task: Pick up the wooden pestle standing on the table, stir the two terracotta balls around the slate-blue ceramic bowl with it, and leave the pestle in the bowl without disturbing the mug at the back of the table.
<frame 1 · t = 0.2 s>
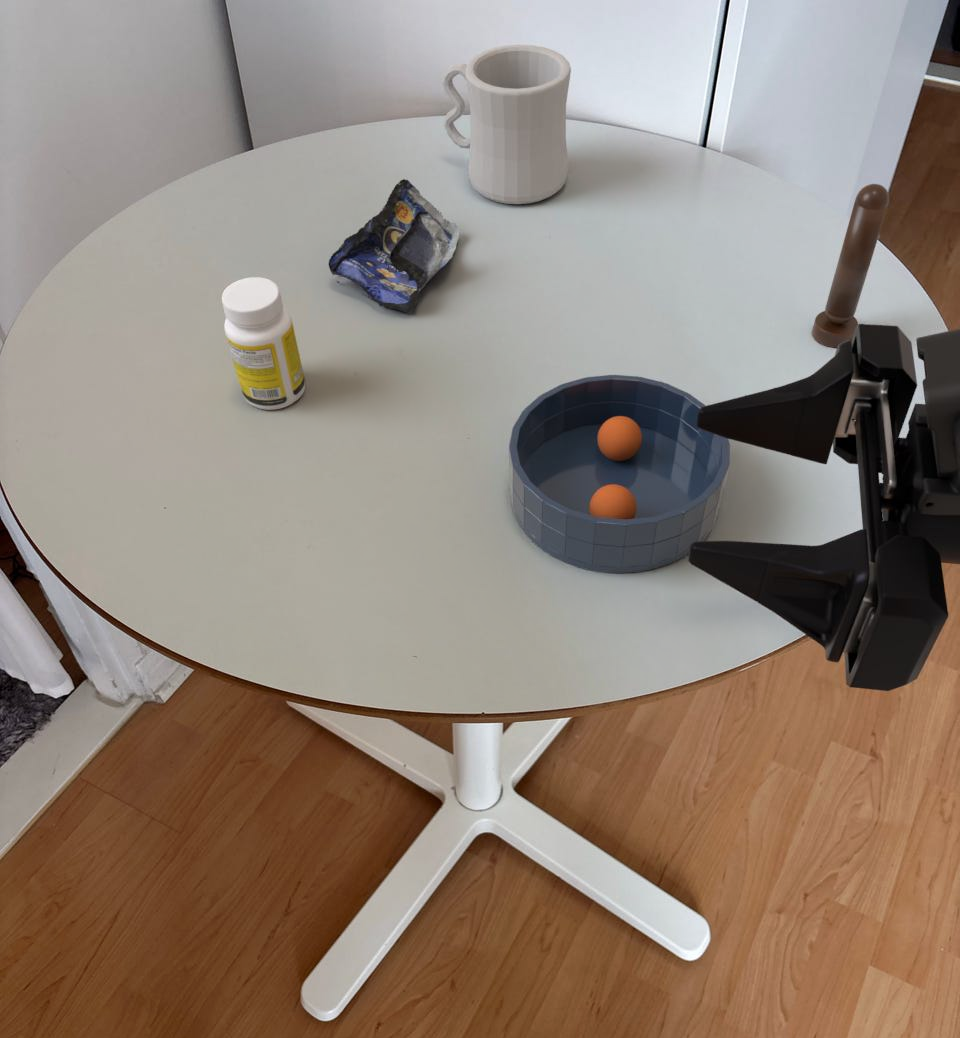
hand: (693, 481, 49), 15 cm above the table, tool horizontal, fingers open, 9 cm apart
bowl: (613, 495, 69), on the table
mug: (502, 179, 94), on the table
ball b: (619, 438, 69), point 2 cm above the table, touching bowl
ball a: (612, 508, 65), point 2 cm above the table, touching bowl
snack package: (406, 275, 85), on the table
wooden pestle: (832, 334, 79), on the table
supplement bottle: (274, 393, 77), on the table
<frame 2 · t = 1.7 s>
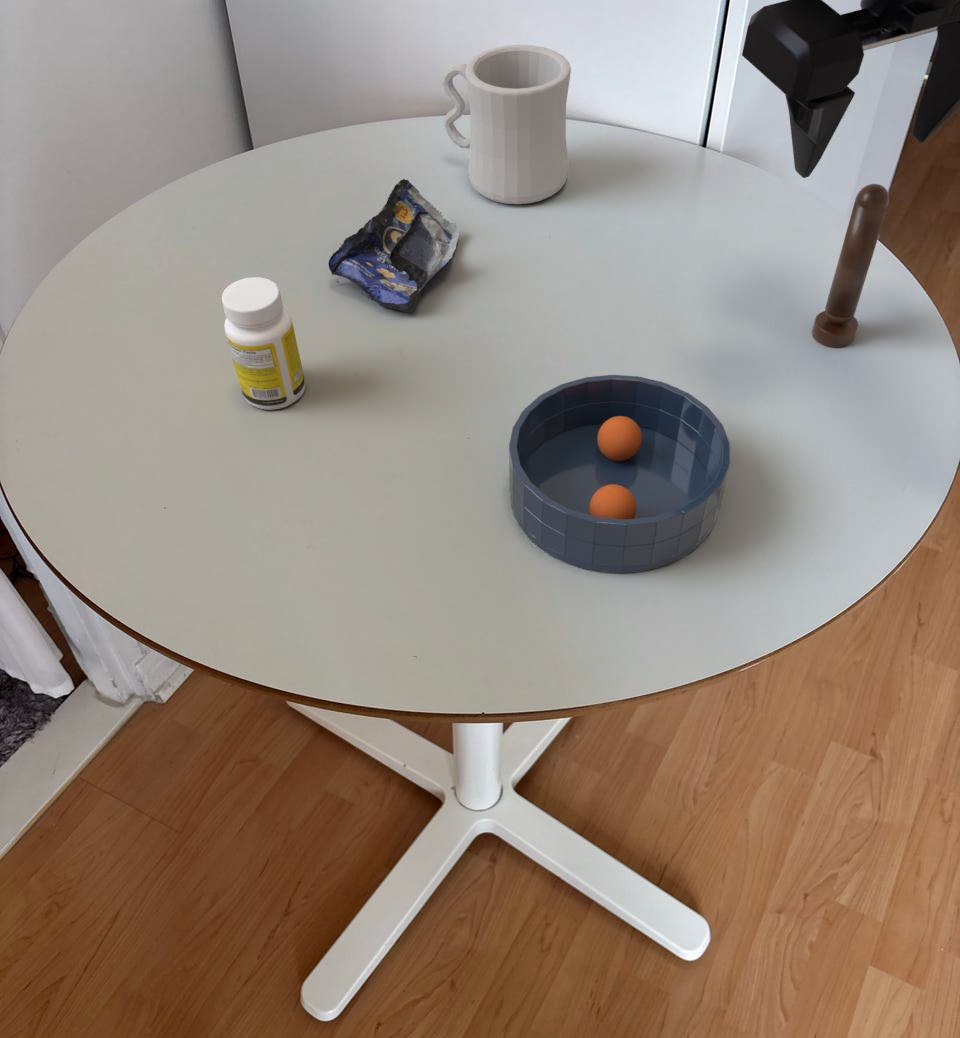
hand: (860, 156, 67), 15 cm above the table, tool pointing down, fingers open, 9 cm apart
nothing on the table moved.
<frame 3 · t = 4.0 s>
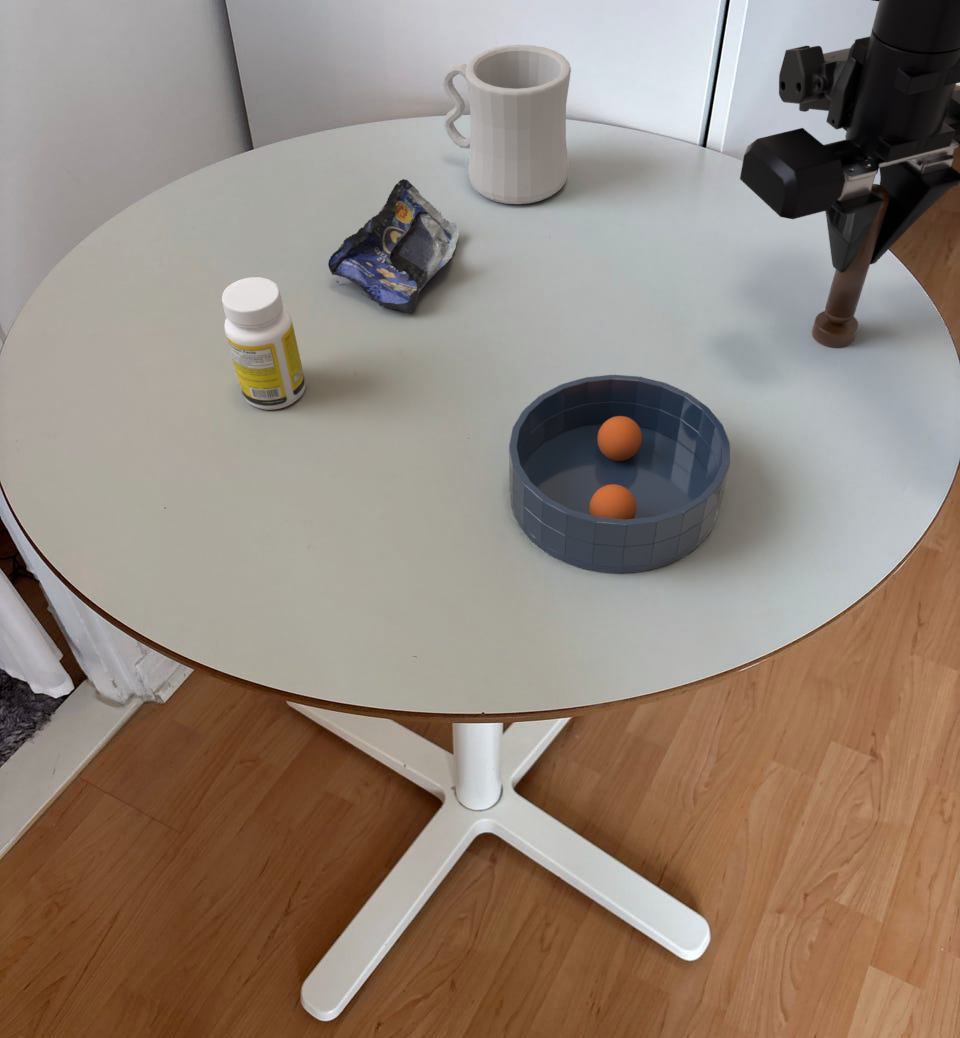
hand: (853, 265, 74), 6 cm above the table, tool pointing down, fingers closed on wooden pestle, 2 cm apart
wooden pestle: (832, 334, 79), on the table, touching gripper
everything else where it was.
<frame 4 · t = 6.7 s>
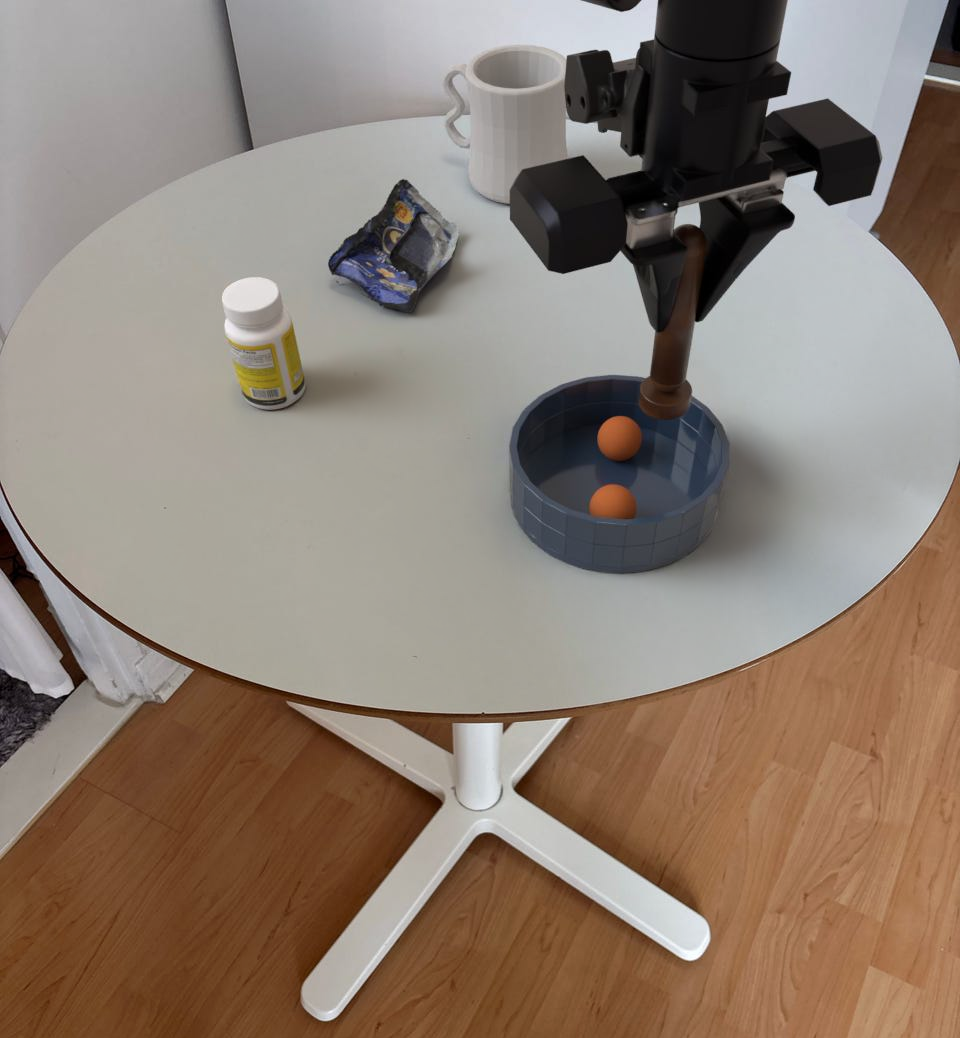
hand: (676, 323, 59), 13 cm above the table, tool pointing down, fingers closed on wooden pestle, 2 cm apart
wooden pestle: (664, 403, 64), point 7 cm above the table, touching gripper
everything else where it was.
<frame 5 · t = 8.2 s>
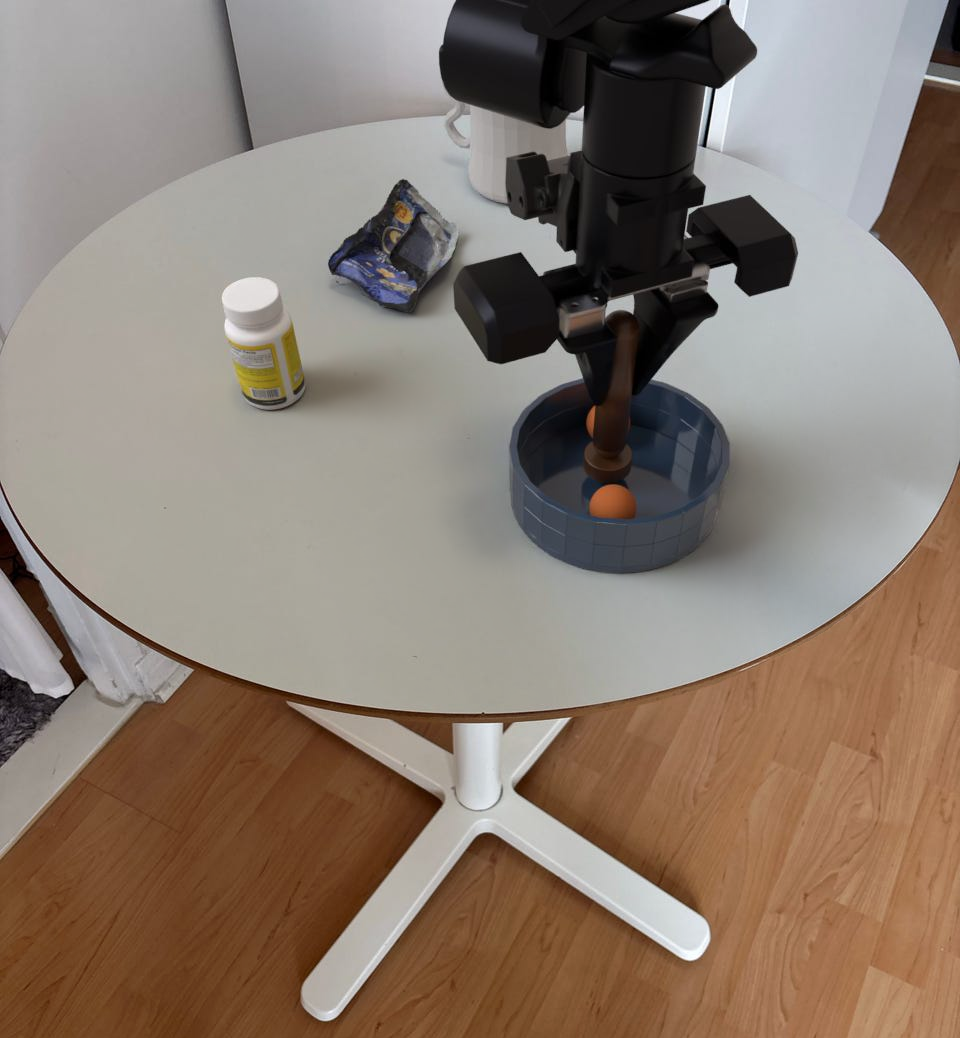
hand: (614, 396, 63), 8 cm above the table, tool pointing down, fingers closed on wooden pestle, 2 cm apart
ball b: (608, 422, 70), point 2 cm above the table, tilted 66°, touching bowl
wooden pestle: (607, 466, 68), point 2 cm above the table, touching gripper
everything else where it was.
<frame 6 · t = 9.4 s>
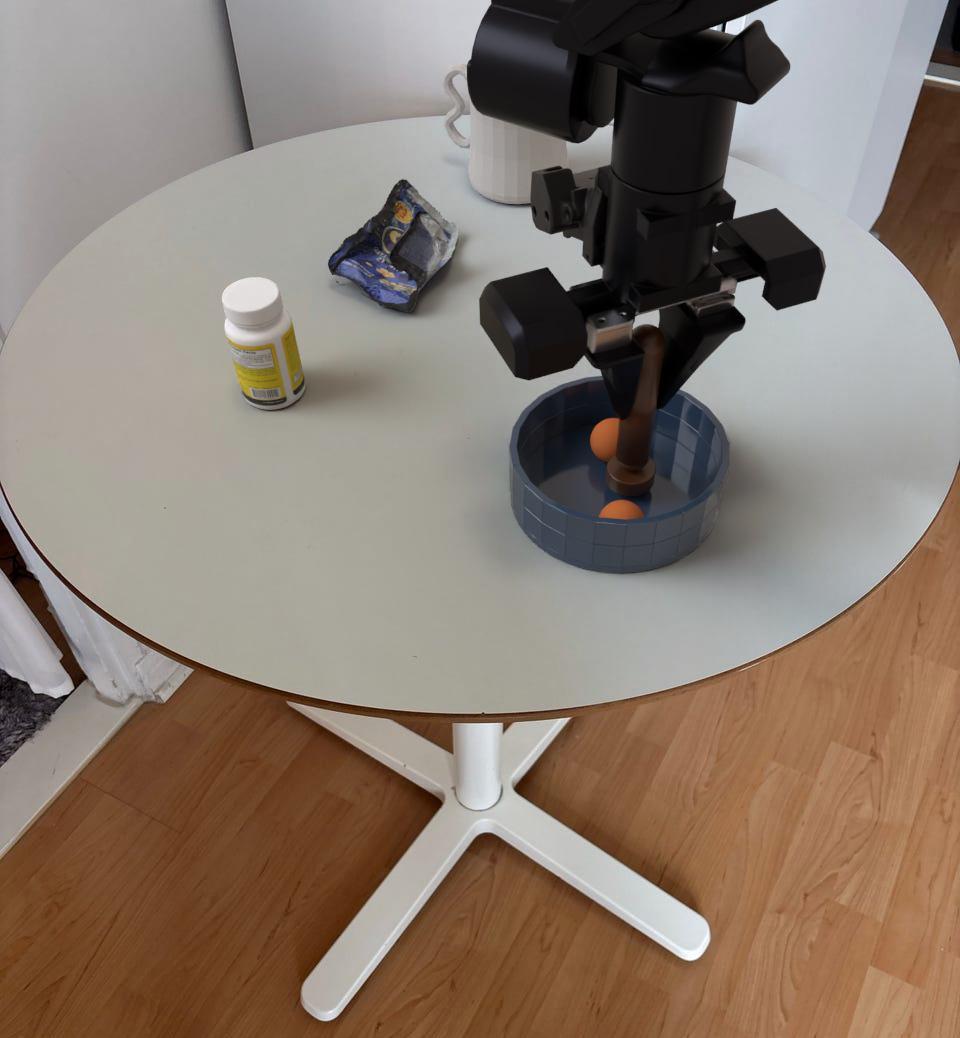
hand: (638, 410, 63), 7 cm above the table, tool pointing down, fingers closed on wooden pestle, 2 cm apart
ball b: (612, 440, 69), point 2 cm above the table, tilted 16°, touching bowl
ball a: (621, 523, 64), point 2 cm above the table, tilted 55°, touching bowl
wooden pestle: (629, 480, 68), point 1 cm above the table, touching gripper
everything else where it was.
when the fingers open (7 cm above the table, at t = 10.0 s): wooden pestle stays where it is, resting on bowl.
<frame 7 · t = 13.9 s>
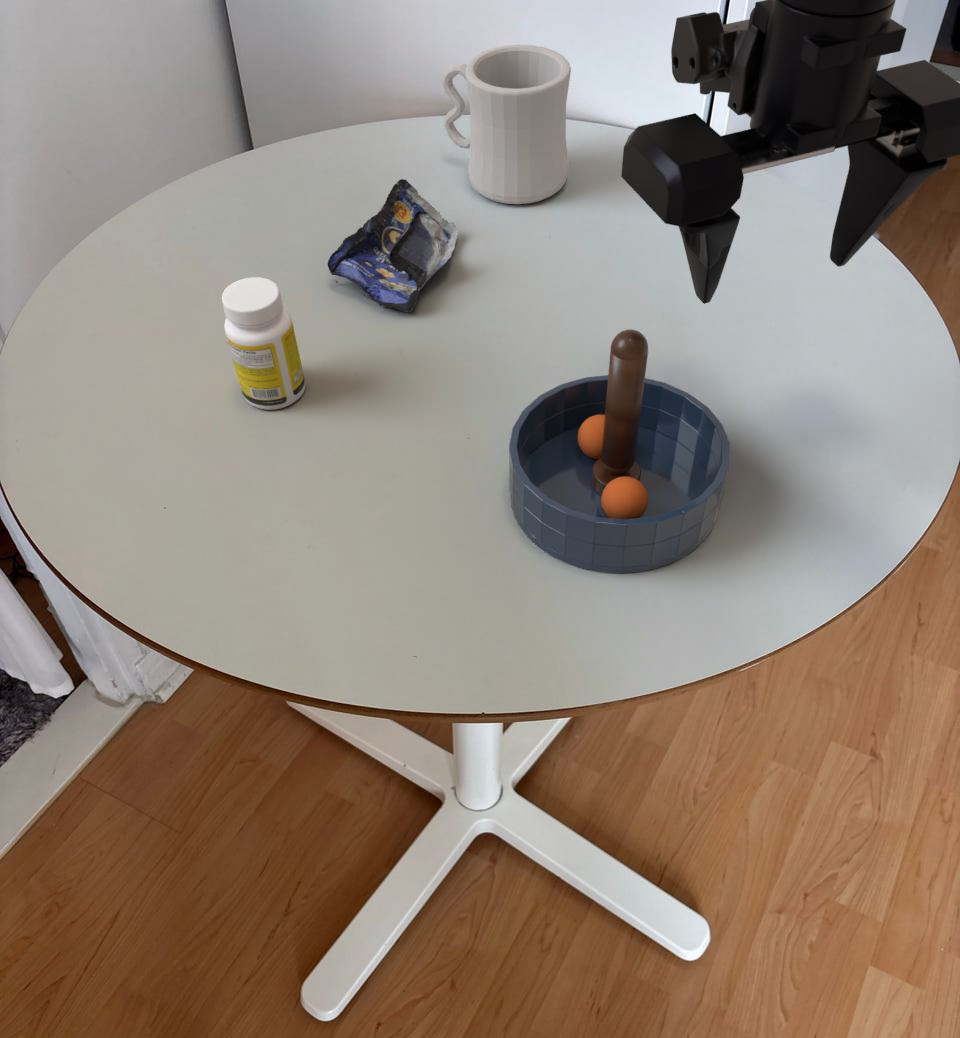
hand: (770, 280, 61), 13 cm above the table, tool pointing down, fingers open, 9 cm apart
ball b: (599, 437, 69), point 2 cm above the table, tilted 43°, touching bowl
ball a: (624, 499, 66), point 2 cm above the table, tilted 35°, touching bowl
wooden pestle: (615, 483, 69), point 1 cm above the table, touching bowl
everything else where it was.
at the end: wooden pestle inside the target area in the bowl (0.5 cm from its centre), point 0.6 cm above the bowl's base; ball a moved 1.1 cm from its start; mug moved 0.2 cm from its start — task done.
